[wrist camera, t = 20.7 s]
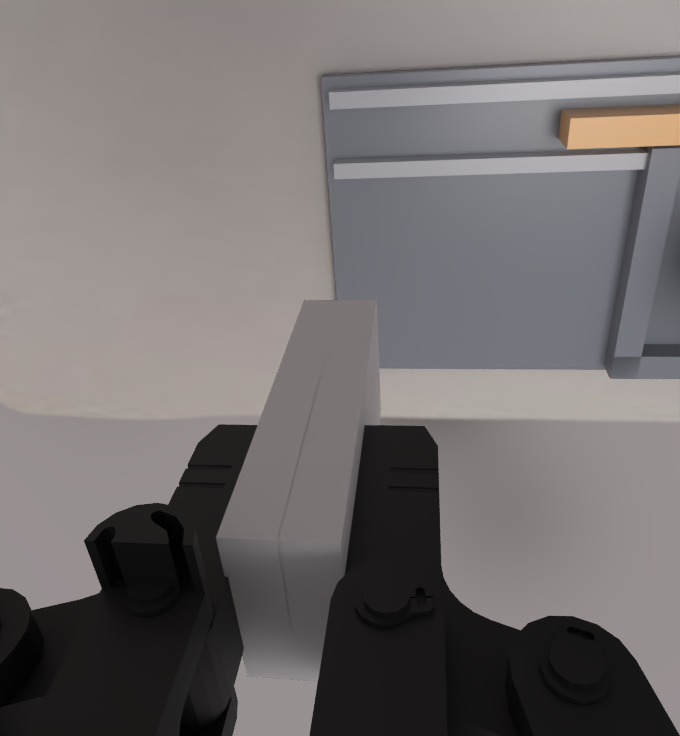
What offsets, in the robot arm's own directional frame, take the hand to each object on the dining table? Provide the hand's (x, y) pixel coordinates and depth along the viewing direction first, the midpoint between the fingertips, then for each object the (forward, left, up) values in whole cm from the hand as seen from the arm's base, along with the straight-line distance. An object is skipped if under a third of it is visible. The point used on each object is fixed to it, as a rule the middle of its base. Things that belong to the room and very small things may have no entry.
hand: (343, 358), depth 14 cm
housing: (-4, +12, -24) cm, 28 cm away
